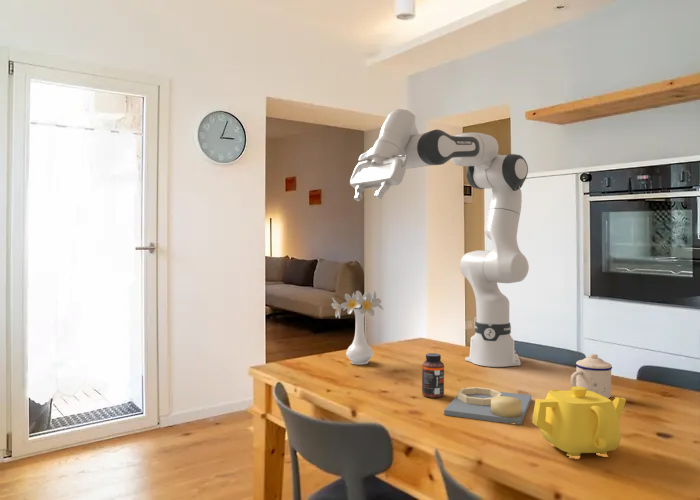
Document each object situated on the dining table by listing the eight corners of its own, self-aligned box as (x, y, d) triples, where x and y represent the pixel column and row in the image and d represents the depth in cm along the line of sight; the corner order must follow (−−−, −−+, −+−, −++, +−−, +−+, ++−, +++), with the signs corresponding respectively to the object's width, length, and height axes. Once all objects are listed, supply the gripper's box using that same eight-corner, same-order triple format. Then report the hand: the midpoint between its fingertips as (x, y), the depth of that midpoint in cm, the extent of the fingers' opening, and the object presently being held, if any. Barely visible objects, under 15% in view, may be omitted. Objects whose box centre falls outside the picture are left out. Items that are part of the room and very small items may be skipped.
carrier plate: (464, 391, 152) (464, 376, 152) (531, 399, 144) (531, 384, 144) (444, 414, 132) (444, 397, 132) (521, 425, 124) (521, 407, 124)
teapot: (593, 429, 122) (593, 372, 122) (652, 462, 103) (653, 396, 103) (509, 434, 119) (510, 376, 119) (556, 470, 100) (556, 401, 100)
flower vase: (326, 362, 188) (326, 290, 187) (370, 357, 197) (371, 288, 197) (344, 370, 177) (344, 294, 176) (391, 364, 186) (391, 291, 185)
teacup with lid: (593, 390, 153) (594, 349, 153) (619, 399, 144) (620, 356, 144) (559, 394, 149) (559, 352, 149) (584, 404, 140) (584, 359, 140)
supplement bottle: (443, 399, 145) (443, 357, 145) (421, 397, 146) (421, 356, 146) (444, 393, 151) (444, 352, 150) (422, 391, 152) (422, 351, 152)
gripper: (416, 159, 150) (399, 202, 147) (370, 168, 167) (353, 206, 163) (401, 146, 147) (383, 190, 143) (356, 156, 163) (338, 195, 160)
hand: (367, 199), depth 153 cm, fingers open, 8 cm apart
